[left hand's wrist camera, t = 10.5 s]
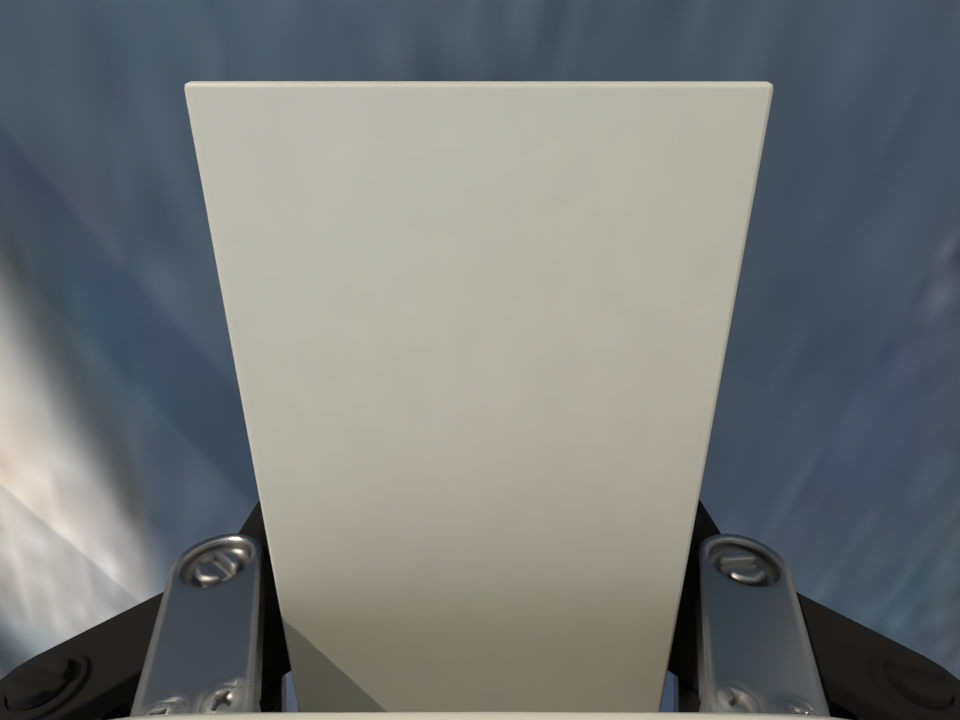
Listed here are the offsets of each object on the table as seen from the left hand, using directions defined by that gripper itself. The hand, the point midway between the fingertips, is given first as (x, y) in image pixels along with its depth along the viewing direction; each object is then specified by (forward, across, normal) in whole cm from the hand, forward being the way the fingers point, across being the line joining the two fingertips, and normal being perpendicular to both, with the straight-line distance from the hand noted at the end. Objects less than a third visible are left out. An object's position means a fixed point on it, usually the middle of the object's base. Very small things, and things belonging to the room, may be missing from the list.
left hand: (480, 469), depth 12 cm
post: (+1, 0, -29) cm, 29 cm away
